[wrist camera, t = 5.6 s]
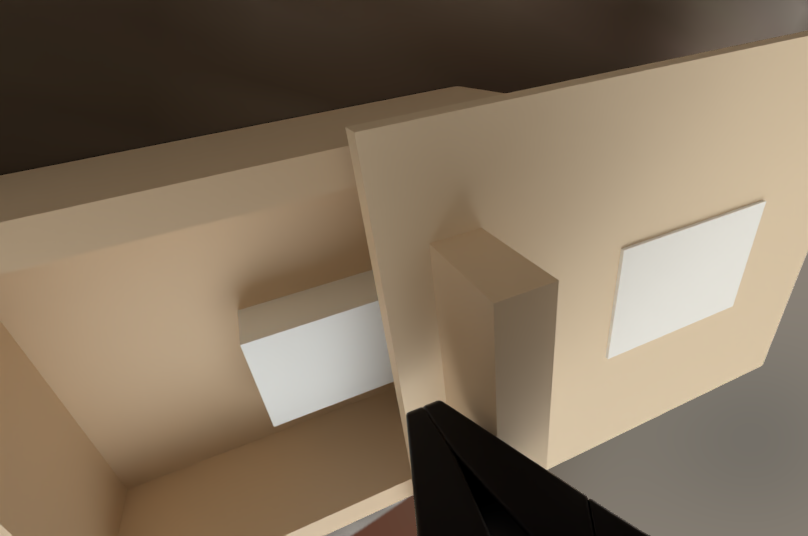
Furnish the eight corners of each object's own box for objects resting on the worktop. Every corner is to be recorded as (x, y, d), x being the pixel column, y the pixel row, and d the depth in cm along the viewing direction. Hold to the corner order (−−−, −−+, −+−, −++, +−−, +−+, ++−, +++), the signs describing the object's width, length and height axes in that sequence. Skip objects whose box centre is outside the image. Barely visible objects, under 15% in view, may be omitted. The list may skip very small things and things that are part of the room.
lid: (418, 510, 13) (464, 615, 11) (345, 126, 8) (408, 165, 5) (746, 355, 17) (836, 408, 15) (870, 17, 11) (1056, 8, 9)
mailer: (115, 498, 15) (81, 646, 11) (-121, 199, 9) (-345, 298, 6) (473, 360, 18) (536, 438, 15) (456, 85, 13) (551, 100, 9)
